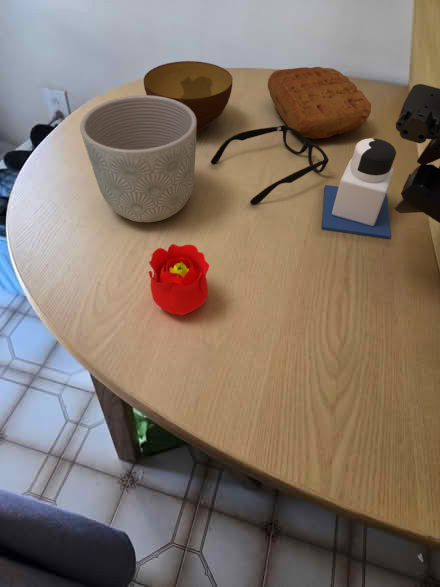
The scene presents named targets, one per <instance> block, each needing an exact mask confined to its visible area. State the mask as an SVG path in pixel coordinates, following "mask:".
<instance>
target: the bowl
mask: <svg viewBox="0 0 440 587" xmlns="http://www.w3.org/2000/svg"><path fill="white" fill-rule="evenodd" d="M143 89H144V91H145V95H150V96H160V97H165V98H169V99H173V100H176V101H178V102H180V103H182V104H184V105H186V106H187V107H189V108H190V109H191V110H192V111H193V113H194V114H195V117H196V121H197V126H196V134H197V133H201V132H202V131H203V130H204V129H205V128H206V127H207V126H209V125H211V124H212V123H213V122H215V121H216V120H217V119H218V118H219V117H220V116H221V115H222V113H223V112H224V110H225V109H226V107H227V105H228V103H229V100H230V98H231V94H232V90H233V76H232V74H231V73H230V72H229V71H228V70H227V69H225V68H224V67H221V66H219V65H216V64H213V63H210V62H204V61H197V60H196V61H195V60H184V61H183V60H181V61H173V62H167V63H163V64H160V65H158V66H155V67H154V68H152V69H150V70H149V71H148V72H146V73H145V75H144V77H143Z"/></svg>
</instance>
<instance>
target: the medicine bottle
mask: <svg viewBox="0 0 440 587" xmlns="http://www.w3.org/2000/svg"><path fill="white" fill-rule="evenodd" d="M396 156H397V150H396V148H395V146H393V145H392V143H390V142H388V141H386V140H384V139H380V138H373V137H371V138H364V139H361V140H360V141H358V142H357V143H356V144H355V147H354V150H353V154H352V157H351V158H350V160H349V161H348V164H347V165H346V168H345V170H344V172H343V174H342V176H341V178H340V181H339V185H338V187H339V188H338V192H337V196H336V199H335V203H334V207H333V211H332V215H334V216H337V217H341V218H344V219H348V220H352V221H355V222H359V223H362V224H366V225H369V226H374V224H375V222H376V219H377V216H378V214H379V211H380V208H381V206H382V203H383V200H384V198H385V195H386V193H387V192H388V189H389V186H390V184H391V180H392V177H393V174H394V171H395V169H394V168H393V164H394V161H395V158H396Z"/></svg>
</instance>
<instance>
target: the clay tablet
mask: <svg viewBox="0 0 440 587" xmlns="http://www.w3.org/2000/svg"><path fill="white" fill-rule="evenodd" d="M267 88H268V92H269V96H270V98H271V101H272V103H273V105H274V107H275V109H276V110H277V112H278V114H279V116H280V117H281V119H282V120H283V121H284V123H285V124H286V126H288V127H290V128H293V129H295V130H297V131H298V132H300V133H301V134H303V135H304V136H305V137H306V138H308V139H327V138H330V137H332V136H334V135H337V134H338V135H340V134H346V133H348V132H352V131H354V130H356V129H358V128H360V127H362V126H363V125H364V124H365V123H367V121H368V118H369V117H370V115H371V112H372V103H371V102H370V101H369V100H368V98H367V97H366V95H365V94H364V93H363V91H362V90H358V87H357V85H356V84H355V83H354V82H352V81H350V78H349V77H348V76H347V75H344V74H343V73H342V72H341V71H339V70H337V69H335V68H330V67H321V66H314V67H306V66H305V67H296V68H285V69H279V70H275V71H273V72H272V73H271V74H270V75H269V77H268V79H267Z"/></svg>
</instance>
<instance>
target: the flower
mask: <svg viewBox="0 0 440 587" xmlns="http://www.w3.org/2000/svg"><path fill="white" fill-rule="evenodd" d="M148 264H149V265H150V267H151V269H152V270H153V271H152V270H149V271H148V275H149V277H150V292H151V296H152V299H153V302H154V303H155V304H156V305H157V306H158V307H159V308H161V309H162V310H164V311H166V312H167V313H171V314H173V315H180V316H185V315H187V314H190V313H191V312H193V311H195V310H196V309H198V308H200V307H201V306H202V305H203V304H204V303H205V302H206V301H207V298H208V296H209V285H208V280H207V273H208V271H209V269H210V264H209V263H208V262H207V260H206V257H205V254H204V253H203V252H201V251H199V250H198V247H197V246H196V245H194V244H184V245H177V244H175V243H172V244H170V245H169V246H168V249H167V250H166V249H164V248H162V247H157V249H155V250H154V251H153V252H152V254H151V259H150V260H149V261H148Z"/></svg>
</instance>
